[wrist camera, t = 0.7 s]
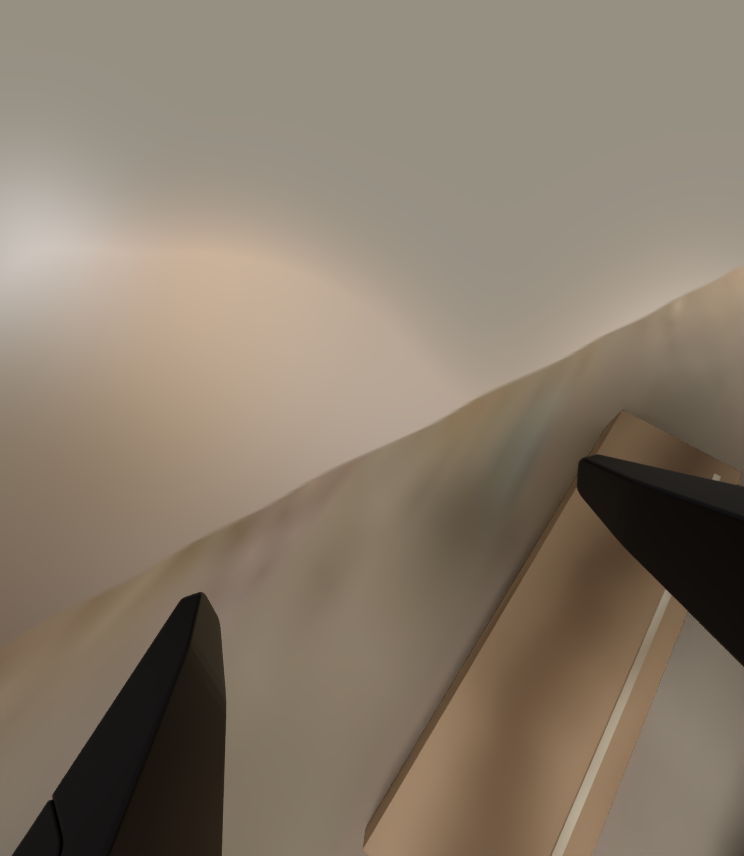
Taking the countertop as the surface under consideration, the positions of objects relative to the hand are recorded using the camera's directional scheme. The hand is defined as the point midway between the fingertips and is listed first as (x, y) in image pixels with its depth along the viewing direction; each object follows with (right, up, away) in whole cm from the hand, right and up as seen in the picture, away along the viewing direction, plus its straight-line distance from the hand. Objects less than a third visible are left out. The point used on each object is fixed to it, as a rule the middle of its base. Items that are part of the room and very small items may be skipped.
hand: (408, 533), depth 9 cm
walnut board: (+9, -8, +11) cm, 16 cm away
